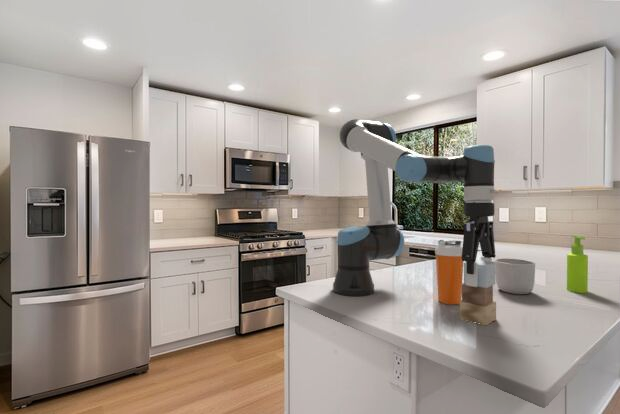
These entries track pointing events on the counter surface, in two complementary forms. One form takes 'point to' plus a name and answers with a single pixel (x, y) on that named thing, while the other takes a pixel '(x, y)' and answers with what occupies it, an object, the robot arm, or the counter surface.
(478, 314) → the oak block
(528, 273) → the planter
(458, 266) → the shaker bottle
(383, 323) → the counter surface
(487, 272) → the grey-blue cube
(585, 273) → the soap dispenser
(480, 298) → the walnut block
